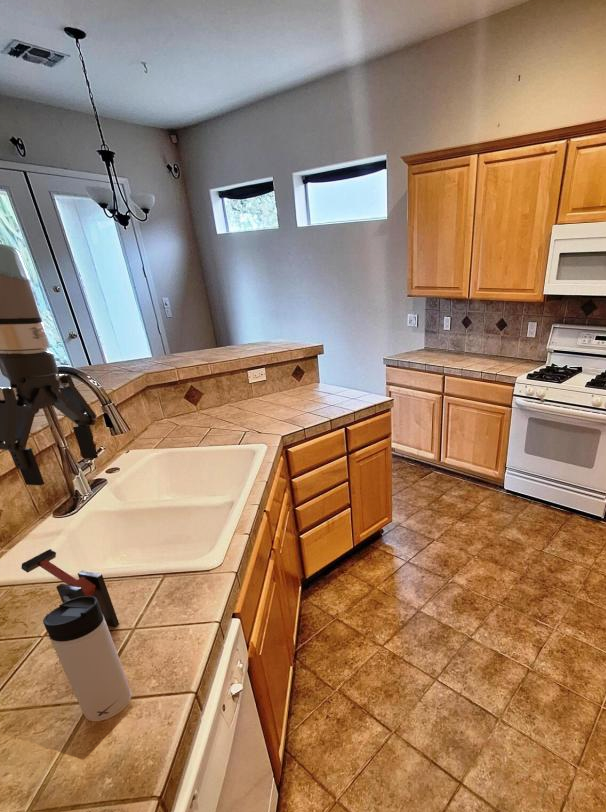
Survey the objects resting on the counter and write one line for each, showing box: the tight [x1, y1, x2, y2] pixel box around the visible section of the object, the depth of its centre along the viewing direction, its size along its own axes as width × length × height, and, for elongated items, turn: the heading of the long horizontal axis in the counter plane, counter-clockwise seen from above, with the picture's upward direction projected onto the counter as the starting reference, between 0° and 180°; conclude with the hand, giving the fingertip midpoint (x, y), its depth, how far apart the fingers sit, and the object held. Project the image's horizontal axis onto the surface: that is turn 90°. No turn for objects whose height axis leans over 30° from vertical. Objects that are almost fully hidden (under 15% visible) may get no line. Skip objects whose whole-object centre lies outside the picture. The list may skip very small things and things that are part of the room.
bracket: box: [55, 570, 120, 628], centre depth 77 cm, size 12×9×13 cm
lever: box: [20, 548, 96, 596], centre depth 75 cm, size 11×5×2 cm, turn 74°
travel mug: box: [42, 596, 133, 722], centre depth 62 cm, size 6×7×20 cm
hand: (65, 470), depth 80 cm, fingers open, 13 cm apart
